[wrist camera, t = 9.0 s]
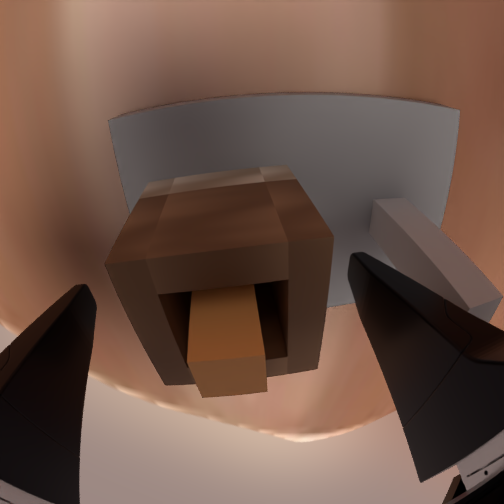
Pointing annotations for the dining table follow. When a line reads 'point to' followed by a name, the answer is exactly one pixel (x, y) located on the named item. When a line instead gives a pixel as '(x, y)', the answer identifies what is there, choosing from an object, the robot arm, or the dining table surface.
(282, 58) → the dining table surface
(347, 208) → the pin board
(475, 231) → the dining table surface
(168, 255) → the sleeve
